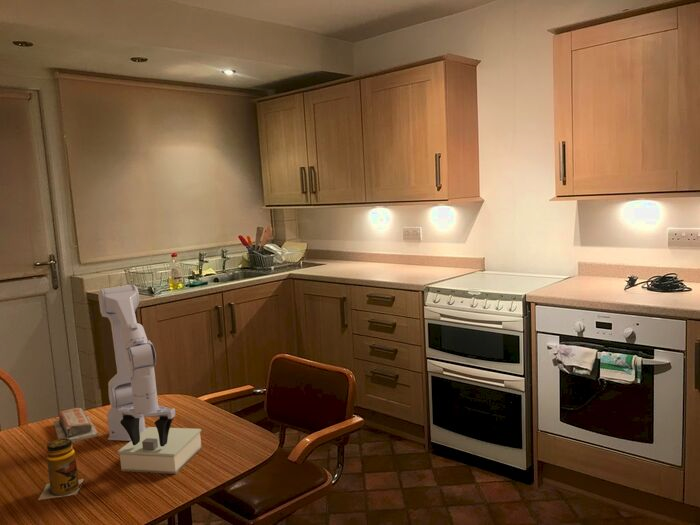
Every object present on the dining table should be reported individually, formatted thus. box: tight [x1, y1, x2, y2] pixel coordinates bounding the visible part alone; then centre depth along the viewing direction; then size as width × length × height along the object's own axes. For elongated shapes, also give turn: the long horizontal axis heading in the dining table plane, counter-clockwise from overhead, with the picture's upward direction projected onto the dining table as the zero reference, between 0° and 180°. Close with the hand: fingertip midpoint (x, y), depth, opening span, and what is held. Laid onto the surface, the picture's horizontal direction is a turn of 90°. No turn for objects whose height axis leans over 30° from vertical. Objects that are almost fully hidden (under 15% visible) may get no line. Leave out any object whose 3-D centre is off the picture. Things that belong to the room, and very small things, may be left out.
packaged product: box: [52, 407, 99, 443], centre depth 173 cm, size 18×5×10 cm
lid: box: [117, 426, 202, 456], centre depth 150 cm, size 16×15×3 cm
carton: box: [119, 432, 202, 475], centre depth 151 cm, size 15×14×4 cm
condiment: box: [37, 438, 84, 501], centre depth 137 cm, size 7×8×12 cm
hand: (150, 444), depth 145 cm, fingers open, 7 cm apart
